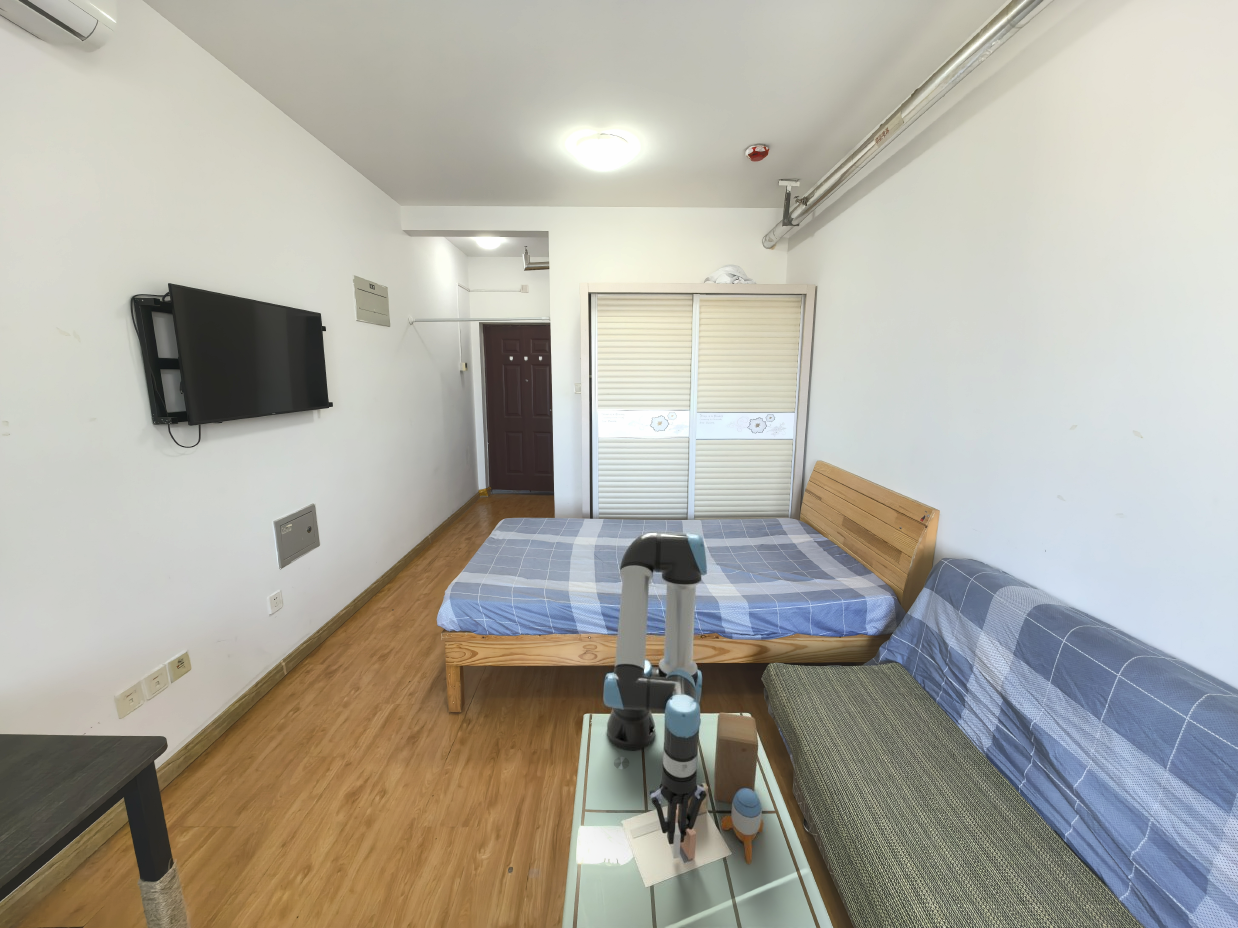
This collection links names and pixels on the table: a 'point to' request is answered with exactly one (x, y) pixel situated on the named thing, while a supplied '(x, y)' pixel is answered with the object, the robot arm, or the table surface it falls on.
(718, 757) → the wooden block
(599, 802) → the table surface
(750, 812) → the toy rocket
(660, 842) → the card
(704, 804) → the fixed fence panel
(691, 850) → the hinged fence panel
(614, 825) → the table surface
